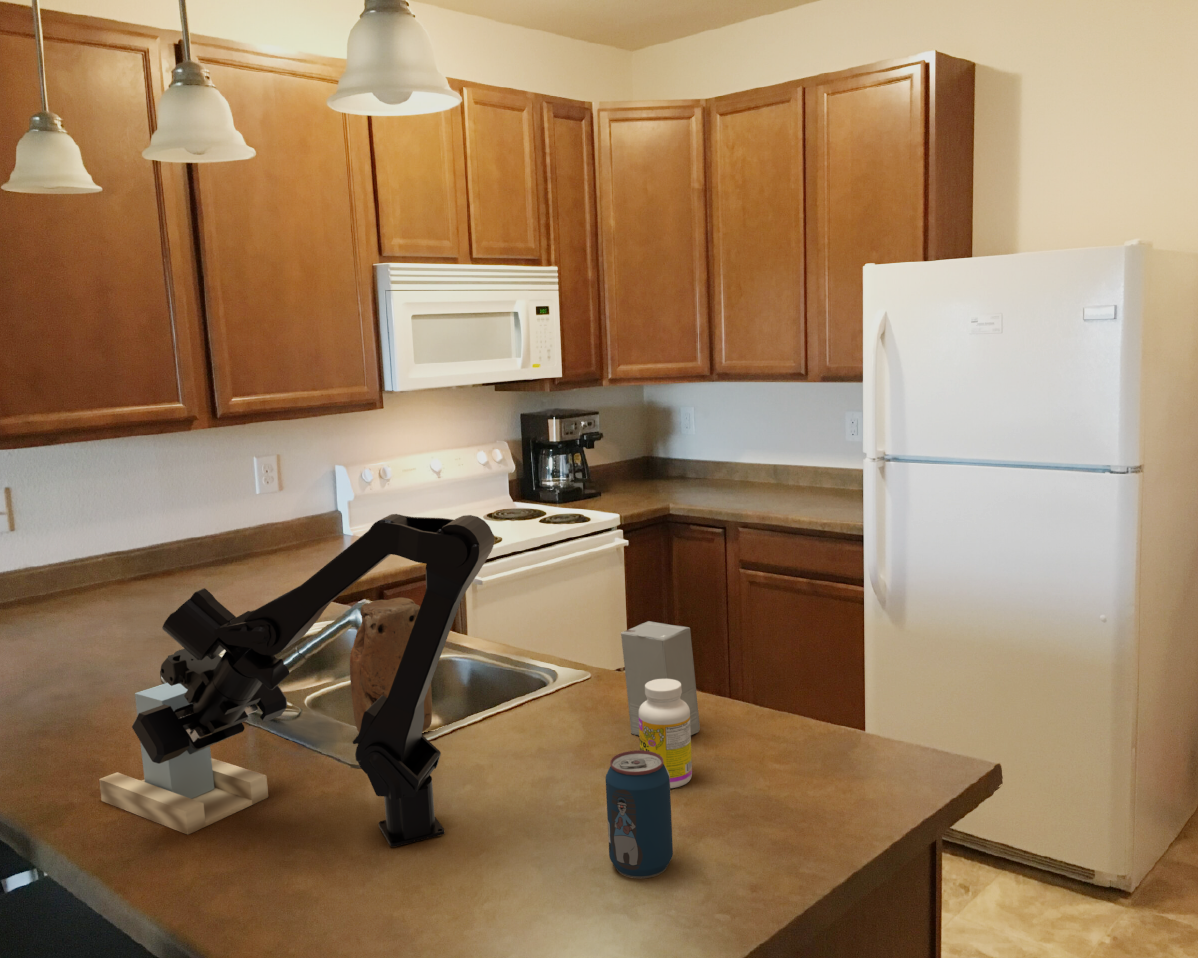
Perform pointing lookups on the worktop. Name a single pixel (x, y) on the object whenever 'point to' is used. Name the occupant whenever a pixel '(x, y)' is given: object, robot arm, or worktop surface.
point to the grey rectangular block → (186, 770)
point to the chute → (181, 812)
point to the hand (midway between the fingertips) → (190, 750)
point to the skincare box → (658, 665)
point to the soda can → (639, 814)
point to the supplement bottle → (667, 728)
